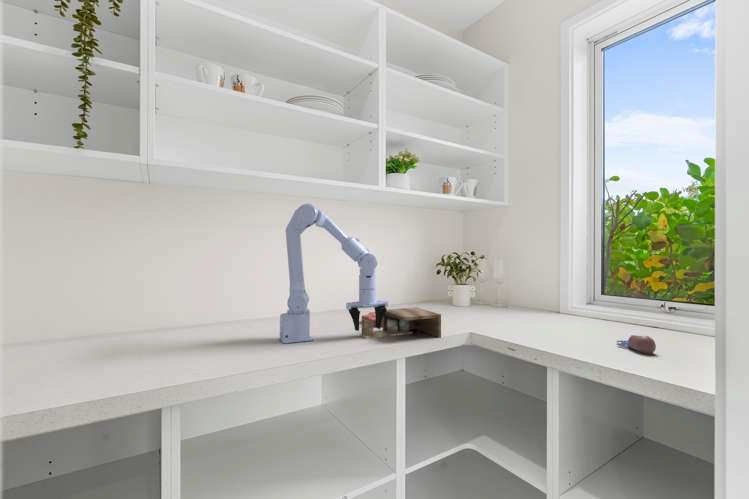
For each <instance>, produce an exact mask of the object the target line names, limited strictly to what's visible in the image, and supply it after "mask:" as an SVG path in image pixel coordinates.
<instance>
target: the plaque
mask: <svg viewBox="0 0 749 499" xmlns="http://www.w3.org/2000/svg"><path fill="white" fill-rule="evenodd" d="M362 319H372V320H373V329H374V328H375V329H377V328H376V316H375V311H372V312H369V313H368V314H365V315H361V320H362ZM381 328H382V329H383V319H382V322H381V326H380V329H381Z"/></svg>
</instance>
